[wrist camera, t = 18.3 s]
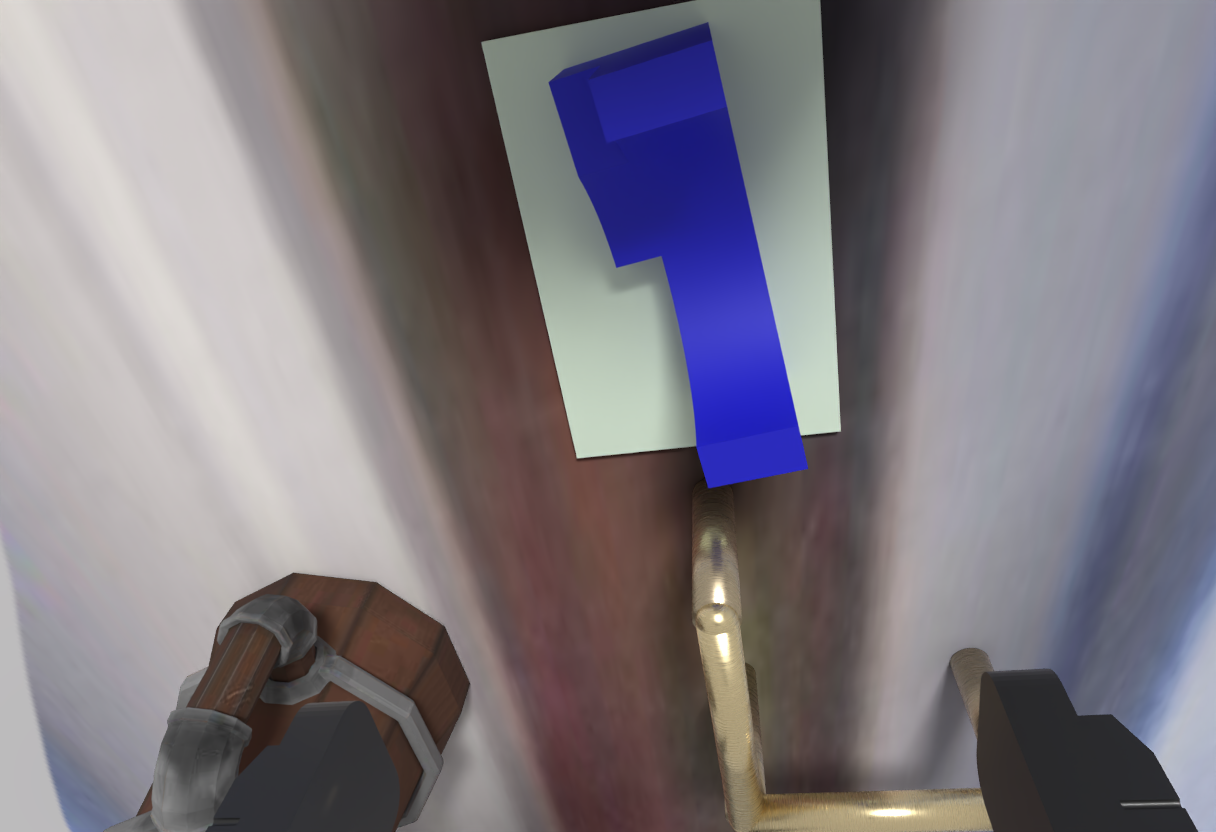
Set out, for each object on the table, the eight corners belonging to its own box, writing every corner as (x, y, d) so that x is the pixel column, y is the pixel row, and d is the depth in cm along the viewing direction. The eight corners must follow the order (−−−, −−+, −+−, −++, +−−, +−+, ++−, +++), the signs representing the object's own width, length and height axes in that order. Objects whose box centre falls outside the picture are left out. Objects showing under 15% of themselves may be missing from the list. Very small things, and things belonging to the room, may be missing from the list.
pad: (817, -24, 23) (819, -24, 23) (839, 427, 30) (840, 431, 30) (483, 41, 25) (481, 42, 25) (577, 454, 32) (576, 458, 32)
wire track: (1001, 449, 30) (1089, 590, 23) (987, 673, 35) (1055, 839, 29) (690, 479, 32) (689, 617, 25) (722, 687, 37) (728, 846, 31)
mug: (472, 759, 42) (371, 1122, 29) (243, 729, 42) (43, 1072, 29) (468, 514, 34) (327, 861, 21) (188, 481, 34) (-119, 800, 21)
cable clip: (563, 69, 25) (529, 98, 20) (708, 21, 24) (712, 40, 19) (666, 404, 30) (660, 497, 25) (787, 377, 29) (808, 468, 24)
